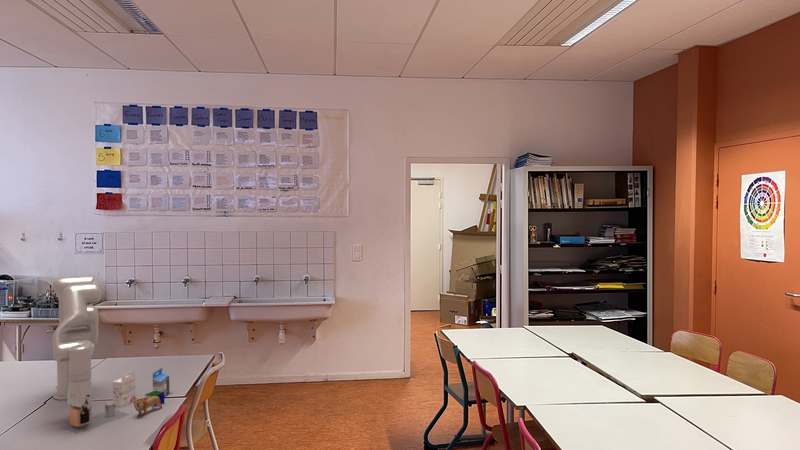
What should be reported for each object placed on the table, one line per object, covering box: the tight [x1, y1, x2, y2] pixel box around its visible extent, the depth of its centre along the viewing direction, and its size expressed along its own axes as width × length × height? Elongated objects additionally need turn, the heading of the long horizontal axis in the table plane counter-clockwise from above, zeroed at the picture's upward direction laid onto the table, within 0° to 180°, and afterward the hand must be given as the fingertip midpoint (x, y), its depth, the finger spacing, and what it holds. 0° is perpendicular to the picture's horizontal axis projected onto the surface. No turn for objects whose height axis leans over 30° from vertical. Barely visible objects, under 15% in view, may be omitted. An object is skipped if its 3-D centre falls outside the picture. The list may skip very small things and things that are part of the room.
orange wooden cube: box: [69, 403, 92, 427], centre depth 204 cm, size 5×5×7 cm
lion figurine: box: [133, 396, 163, 416], centre depth 219 cm, size 15×5×9 cm, turn 164°
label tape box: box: [152, 367, 171, 397], centre depth 240 cm, size 9×4×12 cm, turn 179°
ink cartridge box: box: [112, 369, 136, 407], centre depth 229 cm, size 9×5×15 cm, turn 168°
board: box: [58, 409, 131, 434], centre depth 209 cm, size 12×22×1 cm, turn 151°
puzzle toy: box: [144, 390, 165, 407], centre depth 228 cm, size 6×6×6 cm
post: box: [104, 401, 116, 417], centre depth 214 cm, size 3×3×5 cm
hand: (80, 420), depth 204 cm, fingers closed on orange wooden cube, 5 cm apart
